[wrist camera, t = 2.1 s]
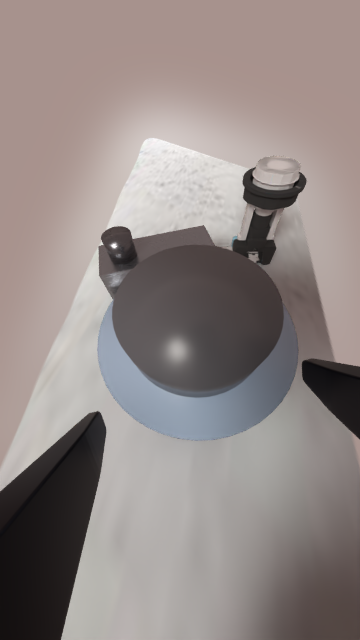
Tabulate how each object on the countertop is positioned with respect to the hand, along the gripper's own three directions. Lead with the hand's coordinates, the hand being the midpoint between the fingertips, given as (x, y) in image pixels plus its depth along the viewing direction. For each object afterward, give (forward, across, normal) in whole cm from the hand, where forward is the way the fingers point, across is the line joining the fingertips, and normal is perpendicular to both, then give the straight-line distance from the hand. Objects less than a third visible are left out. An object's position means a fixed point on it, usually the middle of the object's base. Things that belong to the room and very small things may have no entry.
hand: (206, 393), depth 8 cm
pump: (+7, 0, +6) cm, 9 cm away
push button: (+18, -10, -5) cm, 21 cm away
